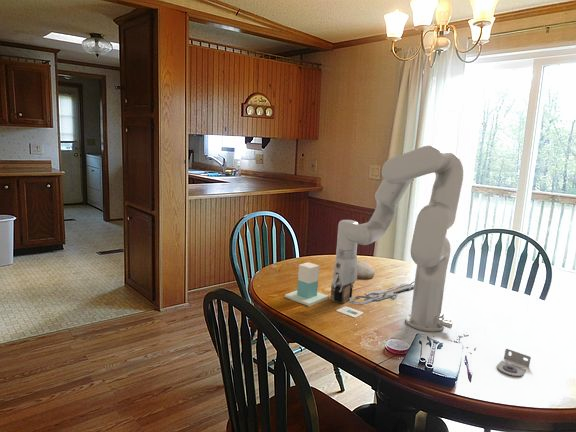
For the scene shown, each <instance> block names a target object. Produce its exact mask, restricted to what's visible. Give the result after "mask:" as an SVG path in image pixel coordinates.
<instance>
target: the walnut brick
mask: <svg viewBox="0 0 576 432" xmlns="http://www.w3.org/2000/svg"><path fill="white" fill-rule="evenodd" d="M338 283H340V281H339V282H338ZM330 285H331V284H330ZM338 287H339V288H340V285H339V284H338ZM350 288H351V285H350V284H347V285H343V288H342V291H341V292H343V293H342V302H338V301H335V300H334V293H335V291H334V288H333V286H332V285H331V286H330V297H329V299H330V301H332V302H335V303H338V304H339V303H340V304H343V305H344V304H345V303H346V302H349V301H350Z"/></svg>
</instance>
